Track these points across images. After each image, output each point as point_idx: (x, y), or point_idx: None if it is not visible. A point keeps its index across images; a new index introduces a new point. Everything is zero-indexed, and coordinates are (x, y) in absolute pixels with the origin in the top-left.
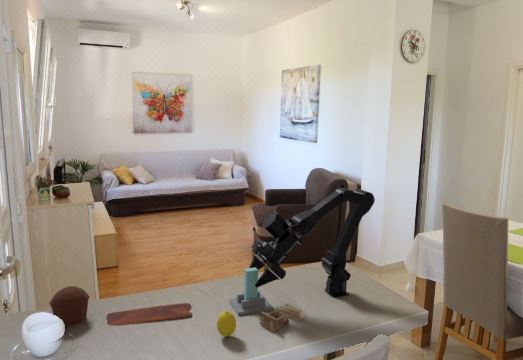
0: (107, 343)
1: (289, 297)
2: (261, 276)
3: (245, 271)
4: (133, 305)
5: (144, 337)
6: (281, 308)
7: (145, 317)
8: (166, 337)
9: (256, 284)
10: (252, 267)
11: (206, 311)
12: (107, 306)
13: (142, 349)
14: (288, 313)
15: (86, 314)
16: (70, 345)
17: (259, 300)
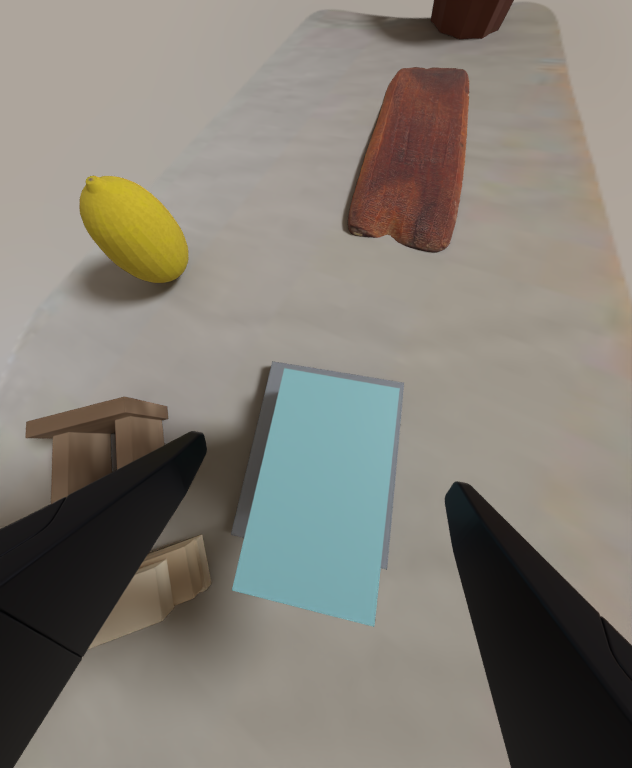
0: (316, 61)
1: (310, 730)
2: (69, 515)
3: (333, 381)
4: (497, 121)
5: (300, 116)
6: (173, 562)
7: (393, 121)
8: (271, 152)
9: (175, 440)
10: (530, 622)
11: (362, 281)
12: (514, 75)
13: (250, 106)
14: None
15: (464, 20)
16: (345, 17)
17: None
